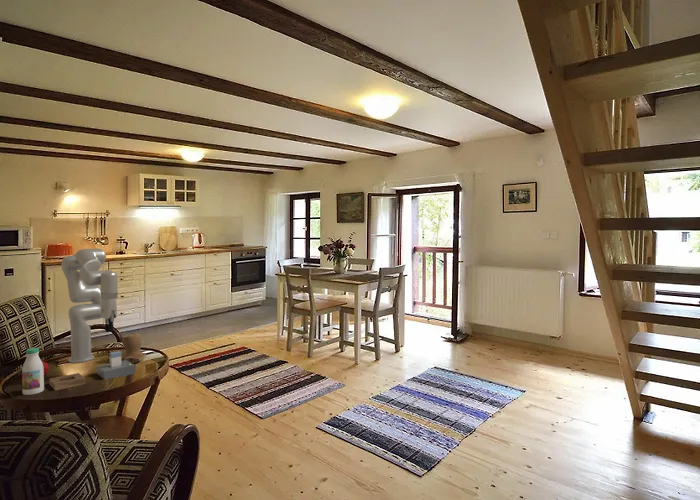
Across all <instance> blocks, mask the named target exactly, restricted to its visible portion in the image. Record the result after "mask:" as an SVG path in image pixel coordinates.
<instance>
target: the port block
mask: <svg viewBox="0 0 700 500" xmlns="http://www.w3.org/2000/svg"><path fill="white" fill-rule="evenodd" d="M123 360H124V359H123ZM123 360H121V366H117V367H113V368H110V363H106V364H101V365H97V366H96V374H97V375H98V376H99V377H101V378H102V379H103V380H108V379H111V378H116V377H119V378H122V377H125V376H130V375H131V376H132V375H135V374H136V366H135V365H136V364H134V363H130V362H129V361H127V360H124V361H123Z"/></svg>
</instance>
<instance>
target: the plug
mask: <svg viewBox="0 0 700 500" xmlns="http://www.w3.org/2000/svg"><path fill="white" fill-rule="evenodd" d="M121 361H122V351H119V350H118V351H113V352H109V364H110V368H113V367H117V366H121Z"/></svg>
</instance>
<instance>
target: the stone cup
mask: <svg viewBox="0 0 700 500" xmlns="http://www.w3.org/2000/svg"><path fill="white" fill-rule="evenodd" d="M121 341H122V345H123V347H124V351H125V352H126V355H125V357H124V359H123V360H122V361H124V360H127V361H129V362H130V363H132V364H134V363H138V362H140V361H142V360H143V358H145V357H146V355H147V353H146V352H141V347H142V346H141V345H142V337H141V334H140V333H139V332H136V333H131V334H127V335H123V336H122V338H121Z"/></svg>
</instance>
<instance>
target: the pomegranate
mask: <svg viewBox="0 0 700 500" xmlns="http://www.w3.org/2000/svg"><path fill="white" fill-rule="evenodd" d="M40 360H41V361H42V363H43V370H44V377H45V376H47V375H48V374H49V371H50V367H49V364H48V363H47V362H46V361H48V360H47V359H44V360H42V359H41V358H40Z"/></svg>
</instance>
